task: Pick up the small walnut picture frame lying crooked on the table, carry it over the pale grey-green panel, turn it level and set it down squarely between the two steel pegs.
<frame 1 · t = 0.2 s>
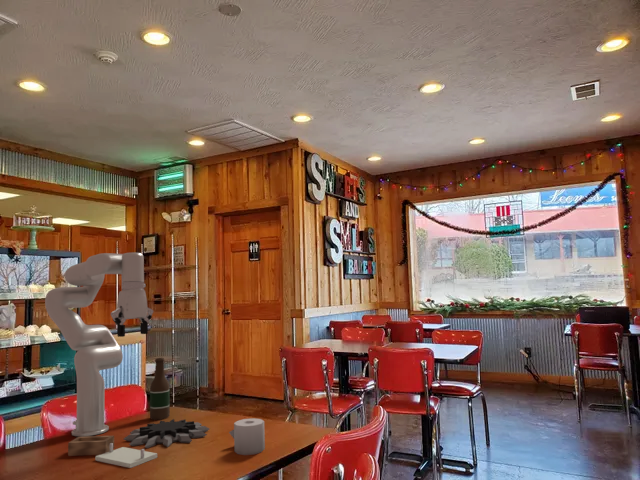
hand: (132, 335, 176), 36 cm above the table, tool pointing down, fingers open, 9 cm apart
decorative piece: (167, 437, 176), on the table
panel: (126, 458, 153), on the table
beer bottle: (159, 418, 204), on the table
toilet tissue: (247, 449, 158), on the table
frame: (91, 451, 161), on the table
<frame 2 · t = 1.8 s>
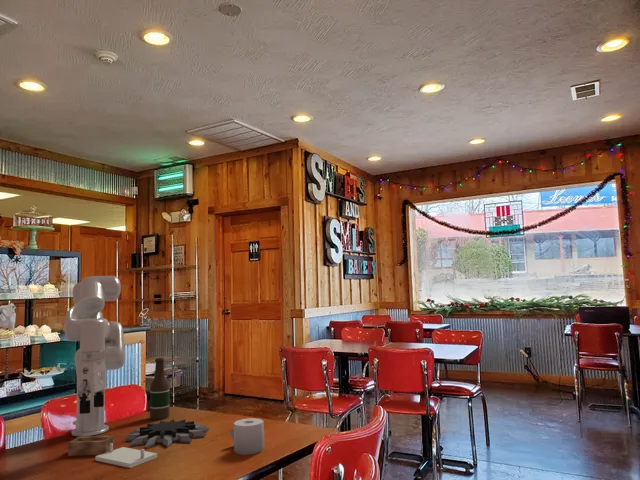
hand: (92, 410, 162), 13 cm above the table, tool pointing down, fingers open, 9 cm apart
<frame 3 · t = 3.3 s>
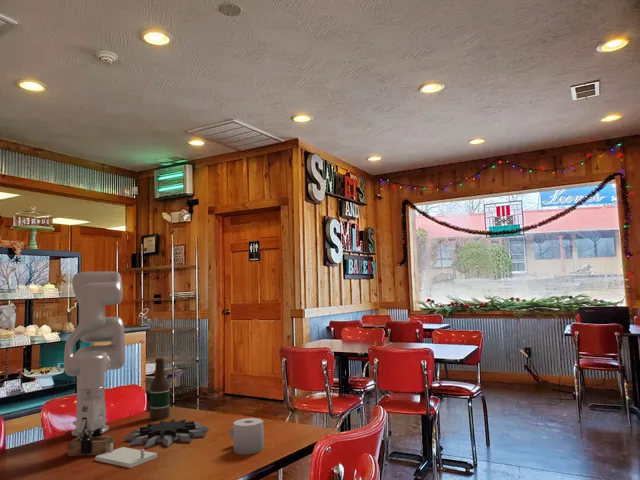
hand: (91, 448, 161), 1 cm above the table, tool pointing down, fingers closed on frame, 6 cm apart
frame: (91, 451, 161), on the table, touching gripper
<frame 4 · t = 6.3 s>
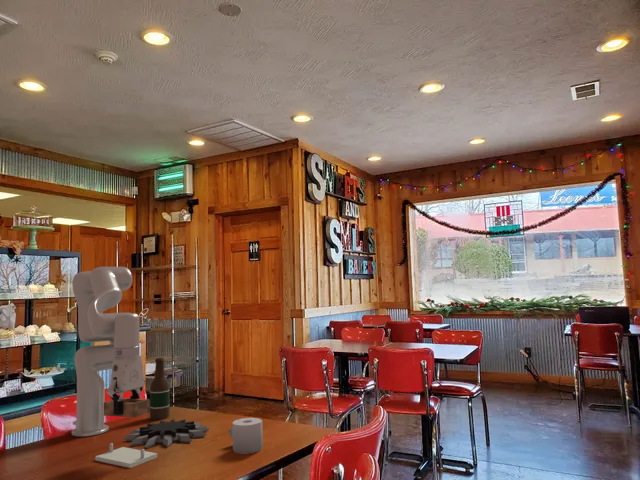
hand: (126, 411, 154), 14 cm above the table, tool pointing down, fingers closed on frame, 6 cm apart
frame: (126, 414, 154), point 13 cm above the table, touching gripper
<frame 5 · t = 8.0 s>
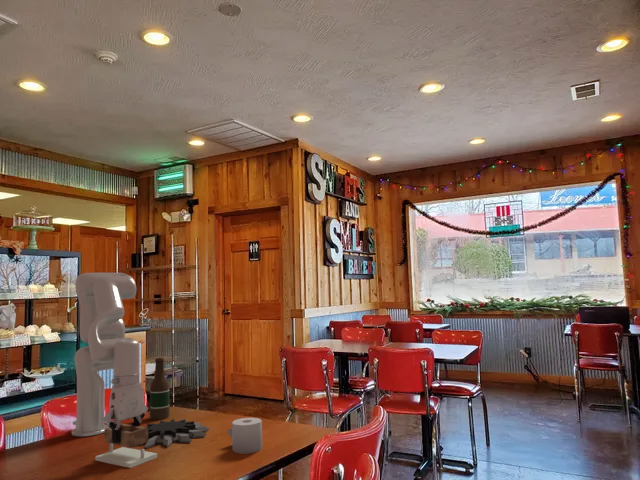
hand: (126, 438, 154), 6 cm above the table, tool pointing down, fingers closed on frame, 6 cm apart
frame: (126, 441, 153), point 5 cm above the table, touching gripper
when the fingers open (3 cm above the table, at t = 9.5 s): frame drops 1 cm, resting on panel.
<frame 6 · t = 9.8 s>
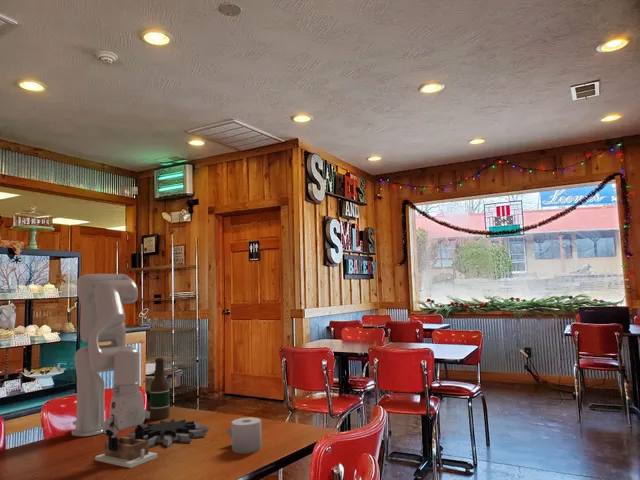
hand: (126, 445, 153), 4 cm above the table, tool pointing down, fingers open, 9 cm apart
frame: (126, 454, 153), point 1 cm above the table, touching panel
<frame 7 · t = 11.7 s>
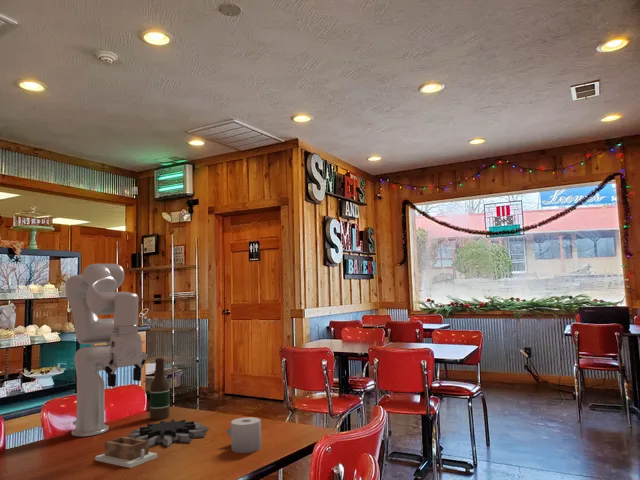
hand: (124, 383, 163), 22 cm above the table, tool pointing down, fingers open, 9 cm apart
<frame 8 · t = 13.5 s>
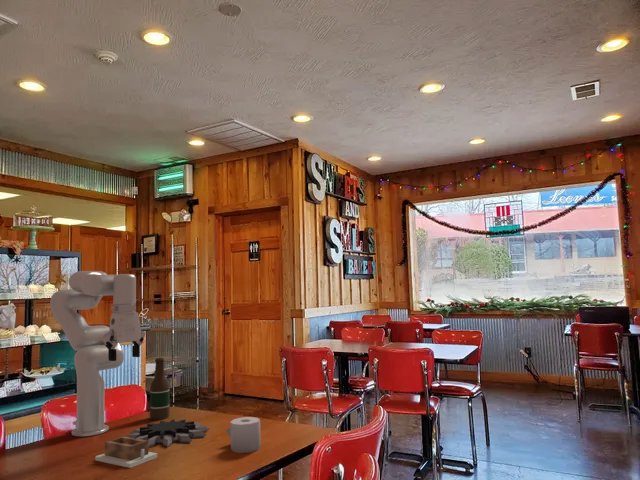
hand: (124, 358, 173), 28 cm above the table, tool pointing down, fingers open, 9 cm apart
at the end: frame 0.1 cm off-centre on the panel, point 1.2 cm above the panel's base; frame tilted 0°; the gripper is holding nothing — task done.
